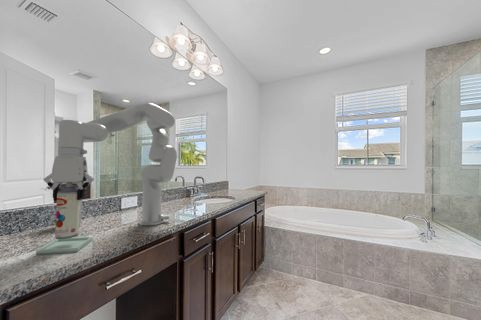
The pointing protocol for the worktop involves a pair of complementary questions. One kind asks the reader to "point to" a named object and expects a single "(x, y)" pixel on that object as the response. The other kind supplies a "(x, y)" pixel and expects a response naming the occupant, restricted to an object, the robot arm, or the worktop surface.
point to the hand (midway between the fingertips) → (68, 199)
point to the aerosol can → (67, 213)
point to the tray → (64, 245)
